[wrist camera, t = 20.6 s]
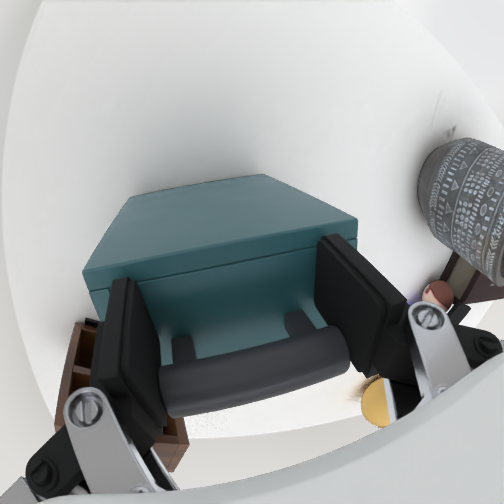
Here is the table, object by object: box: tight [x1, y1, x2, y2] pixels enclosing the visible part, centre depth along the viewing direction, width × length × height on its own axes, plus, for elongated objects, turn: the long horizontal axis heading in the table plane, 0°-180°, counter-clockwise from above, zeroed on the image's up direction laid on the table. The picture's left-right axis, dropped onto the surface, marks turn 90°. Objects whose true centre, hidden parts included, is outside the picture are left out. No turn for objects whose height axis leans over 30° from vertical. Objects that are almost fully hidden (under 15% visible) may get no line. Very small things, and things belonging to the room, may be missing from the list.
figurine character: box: [422, 280, 471, 324], centre depth 36 cm, size 7×8×15 cm
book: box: [440, 252, 504, 305], centre depth 35 cm, size 28×20×6 cm
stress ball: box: [361, 378, 390, 428], centre depth 43 cm, size 10×10×10 cm
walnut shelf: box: [54, 322, 190, 472], centre depth 20 cm, size 15×10×6 cm
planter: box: [418, 138, 504, 287], centre depth 22 cm, size 12×12×13 cm
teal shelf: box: [82, 174, 358, 418], centre depth 14 cm, size 15×10×6 cm
